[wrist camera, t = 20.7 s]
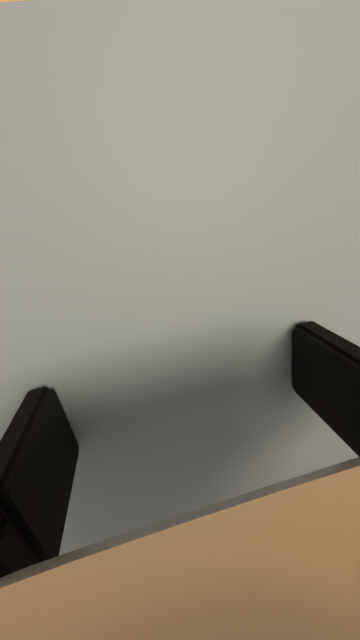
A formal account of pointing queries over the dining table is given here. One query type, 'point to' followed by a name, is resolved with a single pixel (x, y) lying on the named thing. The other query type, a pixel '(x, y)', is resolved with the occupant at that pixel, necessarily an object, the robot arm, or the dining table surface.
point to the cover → (176, 239)
